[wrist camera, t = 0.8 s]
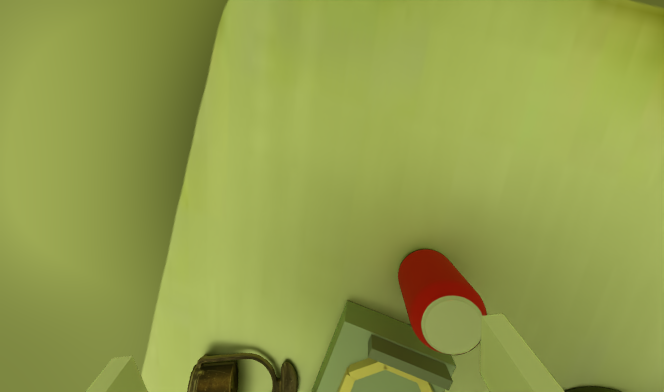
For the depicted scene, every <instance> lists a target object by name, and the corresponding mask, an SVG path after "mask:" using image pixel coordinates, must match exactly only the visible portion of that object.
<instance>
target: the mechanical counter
mask: <svg viewBox="0 0 664 392" xmlns="http://www.w3.org/2000/svg"><path fill="white" fill-rule="evenodd" d="M237 359H253V360H256V361H258V362H260V363H262V364H263V365H264V366H265V367H266V368H267V369H268V371H269V373H270V375H271V377H272V380H273V389H272V392H297V388H298V382H297V375H296V372H295V370H294V368H293V366H292V365H291V364H290V363H289V362H284V363H283V364H282V367H281V377H280V378H277V377H276V374H275V371H274V369H273V367H272V365H271V364H270V363H269V362H268V361H267V360H266V359H264V358H263V357H261V356H259V355H257V354H252V353H237V354H226V355H214V356H207V355H204V356H203V357H201V358H200V359H199V360H198V362H197V364H196V365H195V366H194V368H193V370H192V372H191V376H190V381H189V384H188V391H187V392H237V390H238V367H237V361H235V360H237ZM228 360H234V361H228ZM219 361H221V362H219ZM208 362H210V363H208Z"/></svg>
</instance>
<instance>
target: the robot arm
mask: <svg viewBox="0 0 664 392" xmlns="http://www.w3.org/2000/svg"><path fill="white" fill-rule="evenodd" d="M480 374H481V376H482V378H483V380H484V382H485V383H486V385H487V387H488V389H489V391H490V392H564V390H563V389H562V388H561V387H560V385H559V384H558V383H557V381H556V380H555V379H554V378H553V376H552V375H551V374H550V373H549V371H548V370H547V369H546V368H545V366H544V365H543V364H542V362H541V361H540V360H539V359H538V357H537V356H536V355H535V354H534V352H533V351H532V350H531V349H530V347H529V346H528V345H527V344H526V342H525V341H524V340H523V338H522V337H521V336H520V335H519V333H518V332H517V331H516V330H515V328H514V327H513V326H512V325H511V323H510V322H509V321H508V319H507V318H506V317H505V316H504V314H494V315H485V316H482V321H481V355H480ZM86 392H148V391H147V389H146V387H145V384H144V382H143V380H142V377H141V375H140V373H139V370H138V368H137V366H136V363H135V361H134V359H133V357H132V356H128V357H118V358H112V360H111V361H110V362H109V363H108V365H107V366H106V367H105V368H104V369H103V371H102V372H101V373H100V374H99V376H98V377H97V378H96V379H95V381H94V382H93V383H92V384H91V386H90V387H89V388H88V389H87V390H86ZM565 392H620V391H617V390H614V389H609V388H603V387H582V388H576V389H572V390H568V391H565Z"/></svg>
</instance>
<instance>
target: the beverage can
mask: <svg viewBox="0 0 664 392" xmlns="http://www.w3.org/2000/svg"><path fill="white" fill-rule="evenodd" d="M398 280H399V284H400V288H401V291H402V295H403V298H404V302H405V306H406V309H407V313H408V316H409V320H410V323H411V326H412V329H413V331H414V333H415V334H416V336H417V337H418V338H419V340H420V341H421V342H422V343H424V344H425V345H426V346H427V347H429V348H430V349H432V350H434V351H437V352H440V353H443V354H448V355H460V354H464V353H467V352H469V351H471V350H472V349H474V348H475V347H476V346H477V345H478V344H479V342H480V341H481V321H482V316H485V315H487V313H486V308H485V305H484V303H483V301H482V299H481V297H480V296H479V295H478V293H477V292H476V291H475V290H474V289H473V287H472V286H471V285H470V284H469V283H468V282H467V281H466V279H465V278H464V277H463V276H462V275H461V274H460V273H459V271H458V270H457V269H456V268H455V267H454V266H453V265H452V263H451V262H450V261H449V260H448V259H447V258H446V257H445V256H444V255H442V254H441V253H439V252H437V251H434V250H430V249H421V250H417V251H414V252H412V253H411V254H409V255H408V256H407V257H406V258H405V259H404V260H403V262H402V263H401V265H400V268H399V272H398Z"/></svg>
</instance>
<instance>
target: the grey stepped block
mask: <svg viewBox="0 0 664 392" xmlns="http://www.w3.org/2000/svg"><path fill="white" fill-rule="evenodd" d="M455 368H456V365H455V363H454V361H453V358H452V356H451V355H448V354H443V353H440V352H437V351H434V350H432V349H430V348H429V347H427V346H426V345H425V344H424V343H422V342H421V341H420V340H419V338H418V337H417V336H416V334H415V333H414V331H413V329H412V326H410V325H408V324H405V323H403V322H400V321H398V320H395V319H393V318H390V317H388V316H385V315H383V314H380V313H378V312H375V311H373V310H370V309H368V308H366V307H363V306H361V305H358V304H356V303H353V302H351V301H348V300H347V303H346V305H345V308H344V310H343V313H342V315H341V318H340V321H339V323H338V326H337V328H336V331H335V333H334V336H333V338H332V341H331V343H330V346H329V348H328V351H327V354H326V356H325V359H324V361H323V364H322V366H321V369H320V371H319V374H318V376H317V379H316V381H315V384H314V387H313V389H312V392H445V389H446V390H449V388H450V386H451V384H452V382H453V381H452V378H451V376H452V374H453V372H454V370H455Z"/></svg>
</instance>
